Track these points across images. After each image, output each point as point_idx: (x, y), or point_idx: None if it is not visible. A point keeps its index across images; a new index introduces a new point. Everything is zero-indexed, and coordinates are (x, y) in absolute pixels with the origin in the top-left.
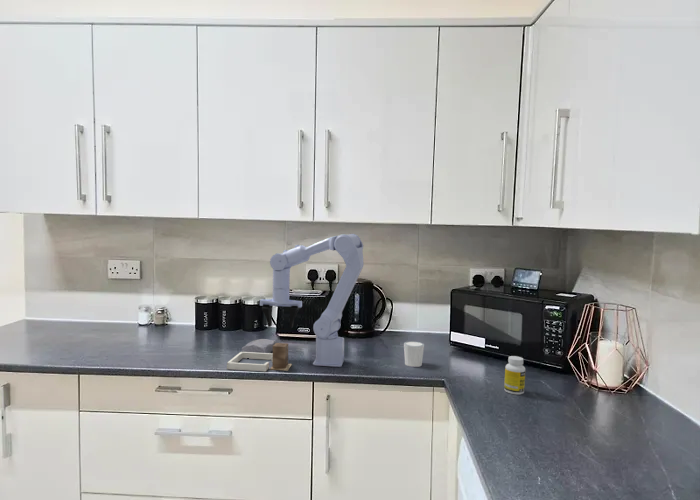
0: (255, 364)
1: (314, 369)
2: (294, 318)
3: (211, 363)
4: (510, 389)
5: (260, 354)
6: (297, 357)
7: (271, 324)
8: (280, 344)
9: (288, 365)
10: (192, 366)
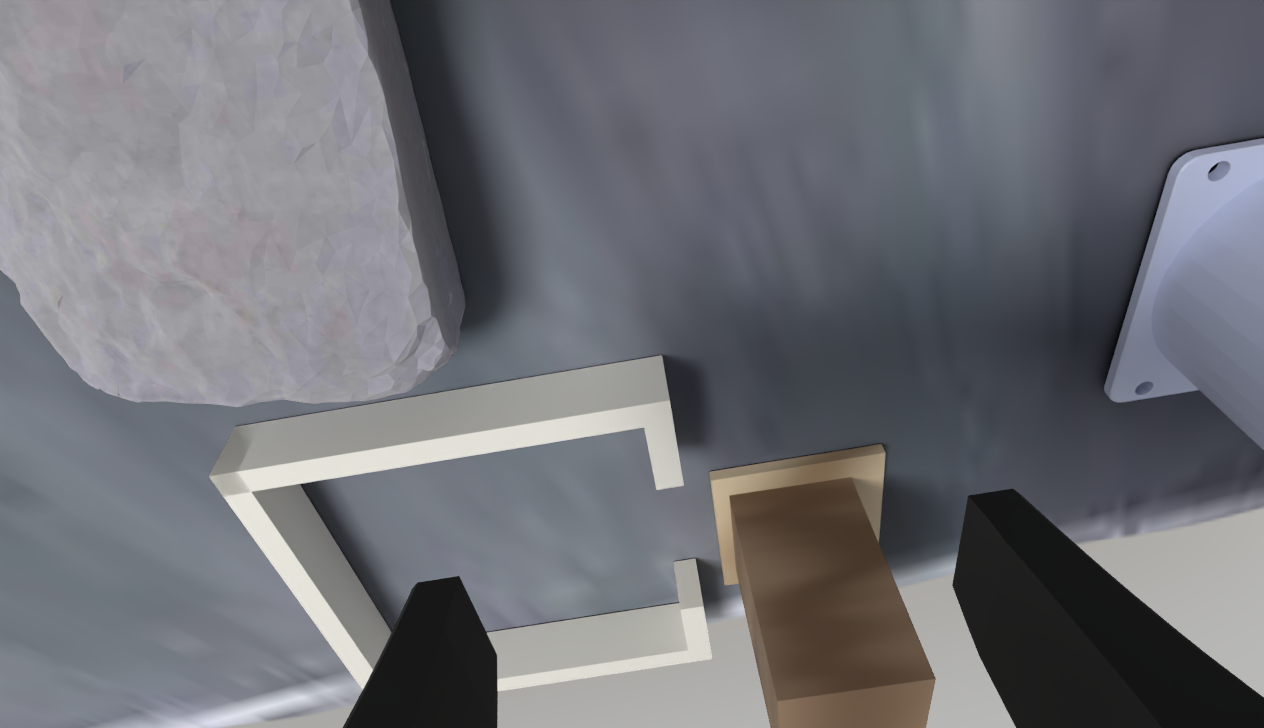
0: (621, 669)
1: (1113, 461)
2: (1199, 677)
3: (151, 619)
4: None
5: (477, 445)
6: (891, 195)
7: (457, 610)
8: (848, 723)
9: (861, 491)
10: (94, 694)
